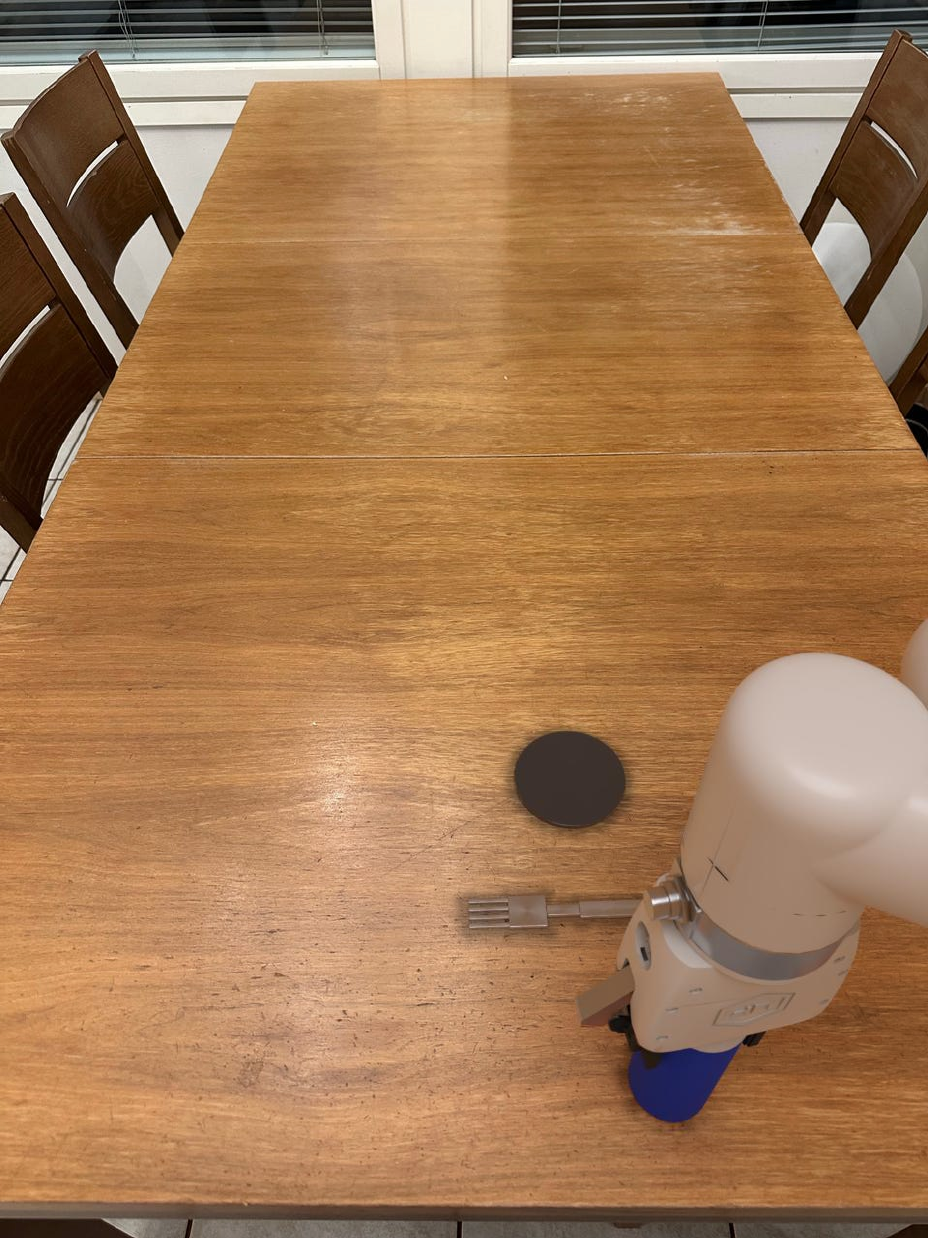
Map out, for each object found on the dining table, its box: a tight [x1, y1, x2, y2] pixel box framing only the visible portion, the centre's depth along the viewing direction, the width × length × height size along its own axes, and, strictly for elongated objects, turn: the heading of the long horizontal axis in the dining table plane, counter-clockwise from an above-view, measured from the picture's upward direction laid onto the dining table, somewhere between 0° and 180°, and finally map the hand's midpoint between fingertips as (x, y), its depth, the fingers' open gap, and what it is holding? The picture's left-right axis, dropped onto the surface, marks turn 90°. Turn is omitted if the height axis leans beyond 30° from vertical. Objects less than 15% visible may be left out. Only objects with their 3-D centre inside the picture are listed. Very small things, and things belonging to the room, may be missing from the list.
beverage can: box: [627, 1035, 747, 1123], centre depth 56 cm, size 5×5×15 cm
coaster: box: [513, 730, 627, 829], centre depth 77 cm, size 9×9×1 cm
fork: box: [467, 894, 643, 930], centre depth 69 cm, size 18×2×1 cm, turn 92°
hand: (692, 1029), depth 54 cm, fingers closed on beverage can, 5 cm apart
